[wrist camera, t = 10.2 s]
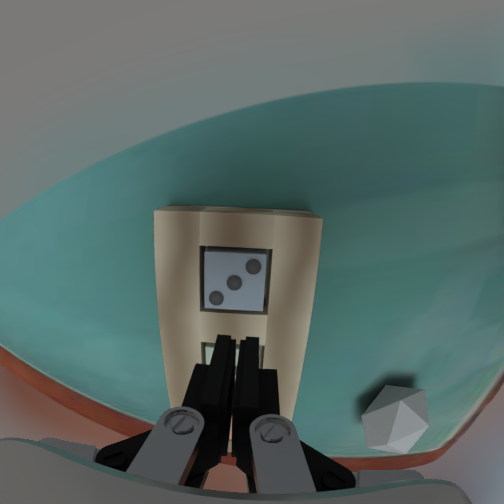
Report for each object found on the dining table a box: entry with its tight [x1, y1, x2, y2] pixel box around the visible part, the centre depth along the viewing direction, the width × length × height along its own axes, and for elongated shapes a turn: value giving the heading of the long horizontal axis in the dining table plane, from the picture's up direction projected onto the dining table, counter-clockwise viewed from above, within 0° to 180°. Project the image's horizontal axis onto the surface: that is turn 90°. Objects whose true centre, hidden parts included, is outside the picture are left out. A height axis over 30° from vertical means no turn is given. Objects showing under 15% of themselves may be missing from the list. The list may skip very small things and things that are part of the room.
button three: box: [204, 246, 267, 311], centre depth 22 cm, size 4×4×3 cm
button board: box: [154, 205, 323, 452], centre depth 25 cm, size 12×26×4 cm, turn 177°
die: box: [362, 385, 429, 454], centre depth 26 cm, size 8×9×10 cm
